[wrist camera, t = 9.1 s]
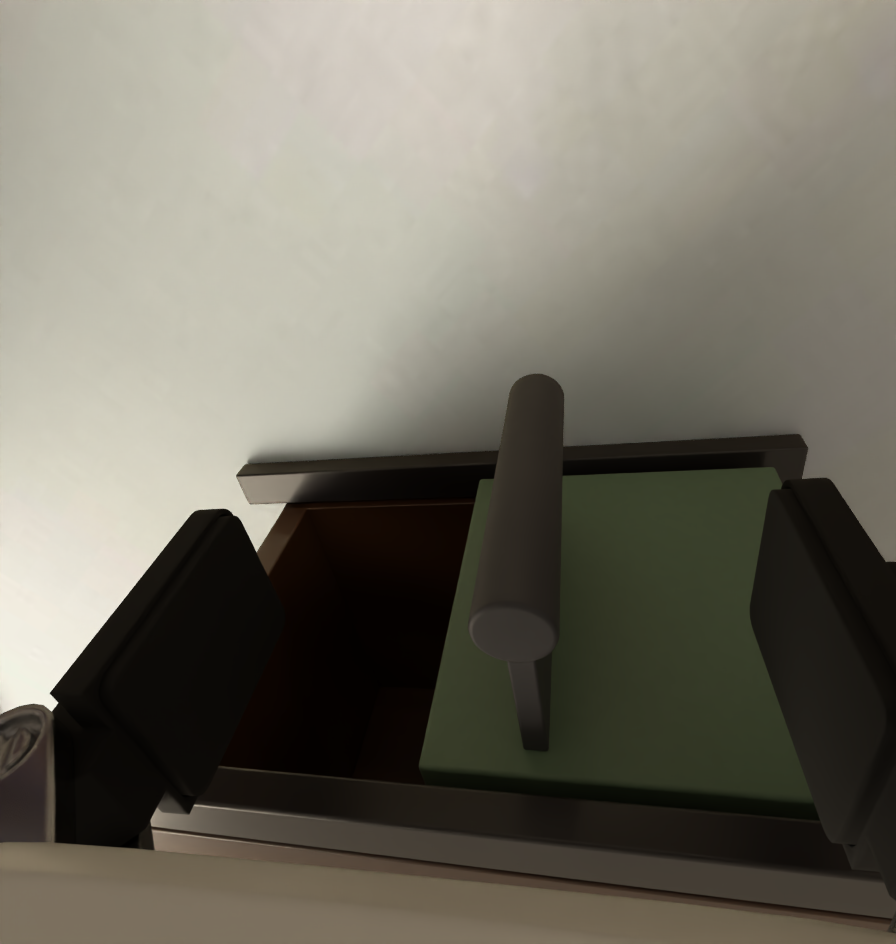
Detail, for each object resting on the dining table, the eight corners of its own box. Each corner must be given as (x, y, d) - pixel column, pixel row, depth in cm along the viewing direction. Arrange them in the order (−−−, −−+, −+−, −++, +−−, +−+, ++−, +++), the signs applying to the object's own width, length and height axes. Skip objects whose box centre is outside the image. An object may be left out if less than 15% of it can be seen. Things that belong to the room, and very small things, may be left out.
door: (456, 351, 16) (355, 613, 9) (801, 317, 14) (1068, 625, 7) (482, 497, 19) (424, 788, 12) (771, 487, 17) (931, 835, 10)
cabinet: (244, 463, 22) (-9, 781, 12) (800, 432, 17) (1085, 903, 8) (342, 678, 29) (233, 979, 20) (748, 697, 25) (859, 1100, 15)
